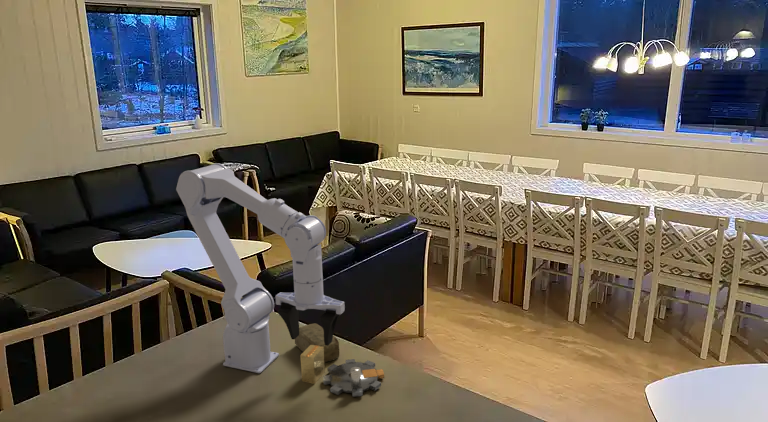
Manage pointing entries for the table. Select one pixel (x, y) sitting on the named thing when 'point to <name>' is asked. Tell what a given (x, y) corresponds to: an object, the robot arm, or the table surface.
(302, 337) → the stone block
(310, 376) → the tan rectangular block
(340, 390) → the sprocket
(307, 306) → the robot arm
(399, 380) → the table surface
